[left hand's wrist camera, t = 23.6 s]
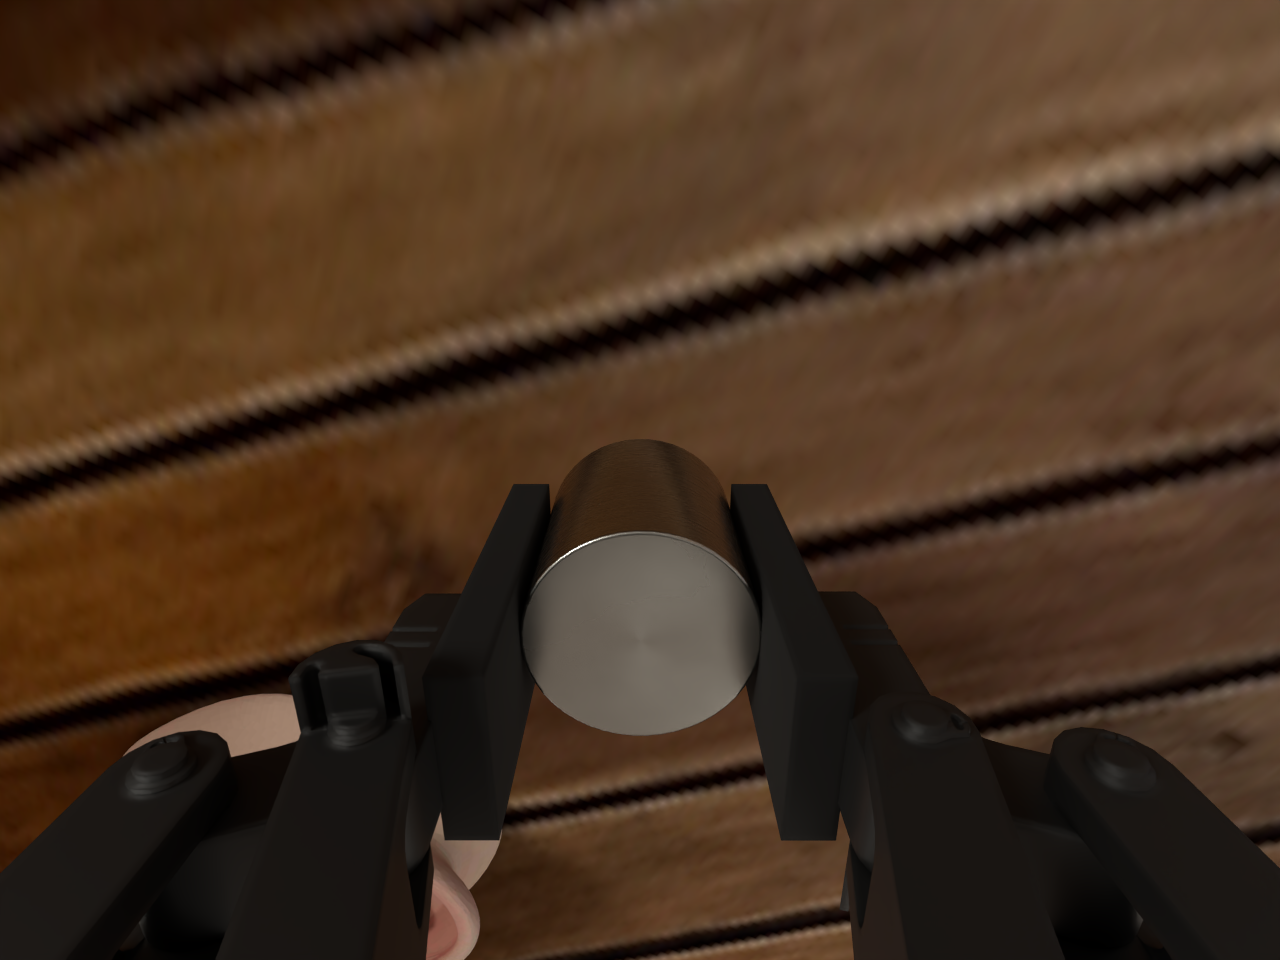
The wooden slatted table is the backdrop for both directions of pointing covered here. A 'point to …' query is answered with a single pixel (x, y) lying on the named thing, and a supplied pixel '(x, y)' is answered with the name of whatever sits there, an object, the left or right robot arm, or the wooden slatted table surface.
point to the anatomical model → (454, 861)
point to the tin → (641, 594)
